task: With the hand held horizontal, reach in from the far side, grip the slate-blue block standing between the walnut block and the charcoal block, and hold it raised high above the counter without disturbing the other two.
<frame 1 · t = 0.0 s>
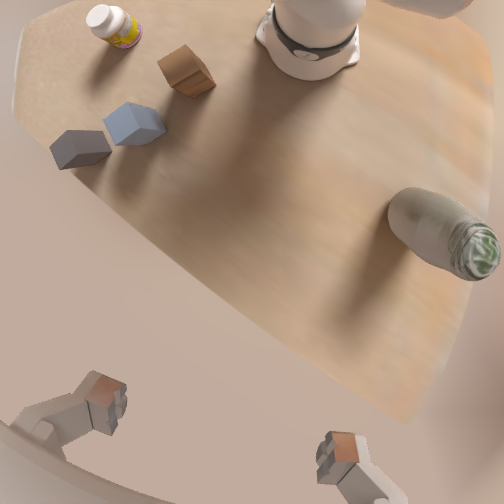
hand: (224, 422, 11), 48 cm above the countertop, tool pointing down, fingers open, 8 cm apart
slate-blue block: (150, 127, 53), on the countertop
walnut block: (198, 81, 50), on the countertop
charcoal block: (98, 147, 55), on the countertop
glass bottle: (404, 210, 54), on the countertop
supplement bottle: (129, 35, 47), on the countertop
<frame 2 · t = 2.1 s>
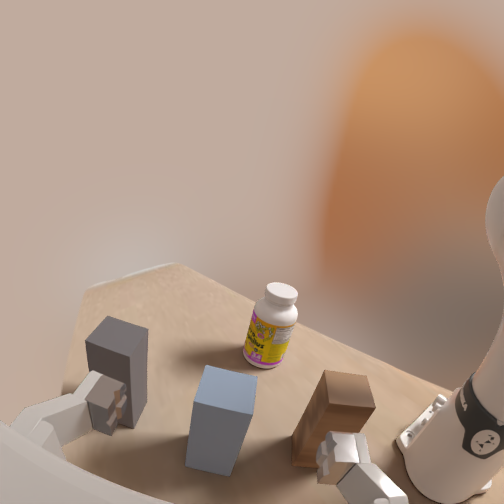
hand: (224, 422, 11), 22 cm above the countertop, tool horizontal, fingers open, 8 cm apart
slate-blue block: (211, 455, 30), on the countertop
walnut block: (311, 452, 32), on the countertop
charcoal block: (122, 408, 33), on the countertop
supplement bottle: (261, 358, 50), on the countertop
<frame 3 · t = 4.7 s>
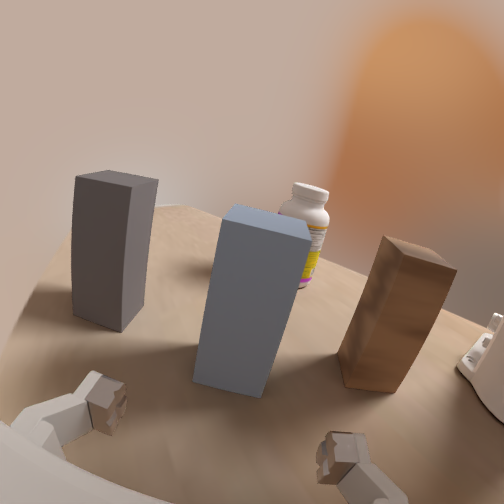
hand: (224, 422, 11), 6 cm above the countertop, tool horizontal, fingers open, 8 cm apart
slate-blue block: (231, 369, 23), on the countertop
walnut block: (365, 372, 26), on the countertop
charcoal block: (109, 310, 26), on the countertop
supplement bottle: (285, 279, 43), on the countertop
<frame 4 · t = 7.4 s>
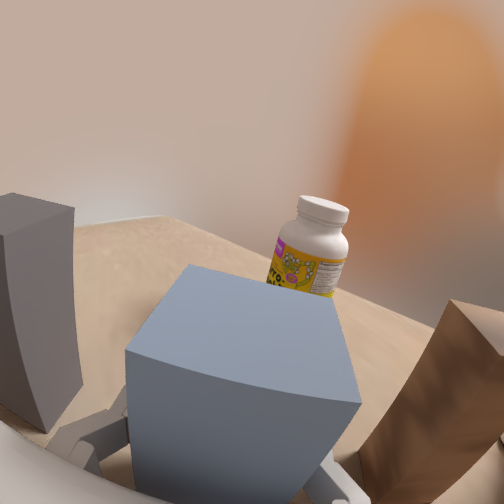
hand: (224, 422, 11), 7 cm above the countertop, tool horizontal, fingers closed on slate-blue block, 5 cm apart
slate-blue block: (202, 501, 12), on the countertop, touching gripper
walnut block: (395, 477, 15), on the countertop
charcoal block: (36, 392, 15), on the countertop
supplement bottle: (287, 324, 32), on the countertop
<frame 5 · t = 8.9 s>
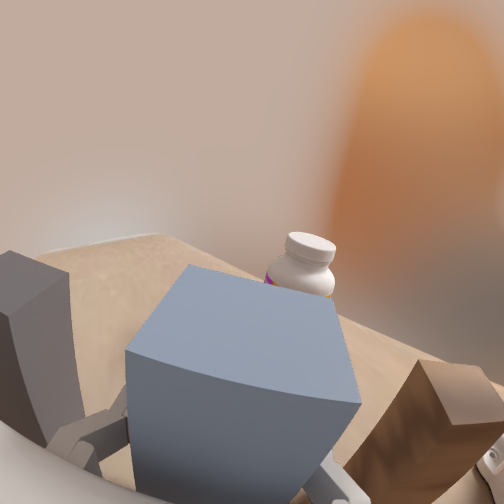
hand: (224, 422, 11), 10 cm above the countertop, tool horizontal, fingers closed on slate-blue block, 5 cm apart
slate-blue block: (202, 501, 12), point 4 cm above the countertop, touching gripper
walnut block: (367, 503, 16), on the countertop
charcoal block: (43, 423, 16), on the countertop
supplement bottle: (276, 352, 33), on the countertop
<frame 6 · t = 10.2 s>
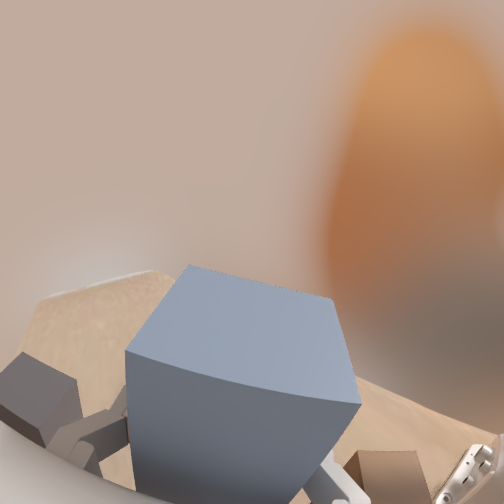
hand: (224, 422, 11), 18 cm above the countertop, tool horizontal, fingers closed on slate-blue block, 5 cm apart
slate-blue block: (202, 501, 12), point 11 cm above the countertop, touching gripper
charcoal block: (61, 471, 18), on the countertop
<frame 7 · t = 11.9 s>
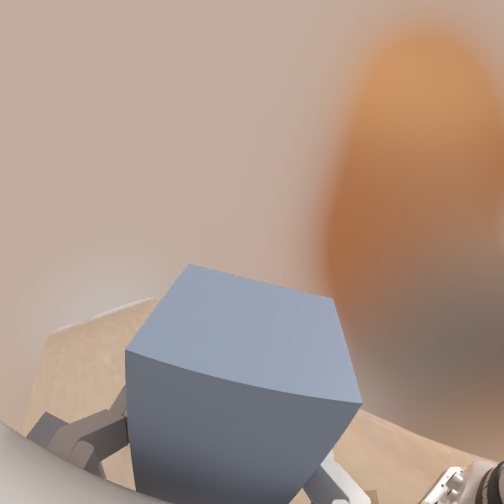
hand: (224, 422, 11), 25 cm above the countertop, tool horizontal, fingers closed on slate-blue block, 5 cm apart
slate-blue block: (202, 501, 12), point 18 cm above the countertop, touching gripper
charcoal block: (82, 497, 21), on the countertop
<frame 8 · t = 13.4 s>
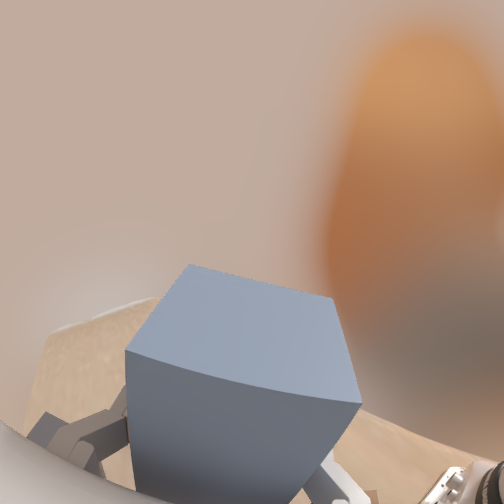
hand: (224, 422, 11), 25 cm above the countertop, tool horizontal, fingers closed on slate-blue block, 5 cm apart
slate-blue block: (202, 501, 12), point 18 cm above the countertop, touching gripper
charcoal block: (82, 497, 21), on the countertop
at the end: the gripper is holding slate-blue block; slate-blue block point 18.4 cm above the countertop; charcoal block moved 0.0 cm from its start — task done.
